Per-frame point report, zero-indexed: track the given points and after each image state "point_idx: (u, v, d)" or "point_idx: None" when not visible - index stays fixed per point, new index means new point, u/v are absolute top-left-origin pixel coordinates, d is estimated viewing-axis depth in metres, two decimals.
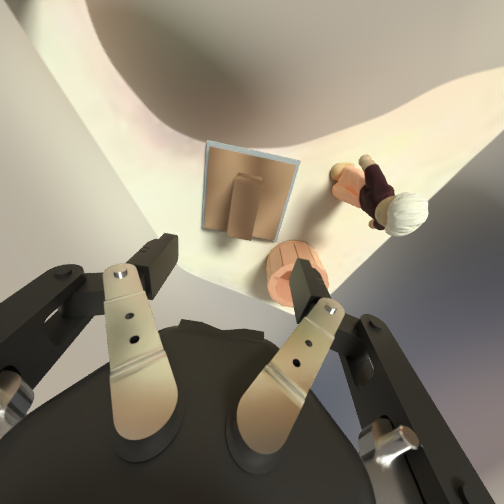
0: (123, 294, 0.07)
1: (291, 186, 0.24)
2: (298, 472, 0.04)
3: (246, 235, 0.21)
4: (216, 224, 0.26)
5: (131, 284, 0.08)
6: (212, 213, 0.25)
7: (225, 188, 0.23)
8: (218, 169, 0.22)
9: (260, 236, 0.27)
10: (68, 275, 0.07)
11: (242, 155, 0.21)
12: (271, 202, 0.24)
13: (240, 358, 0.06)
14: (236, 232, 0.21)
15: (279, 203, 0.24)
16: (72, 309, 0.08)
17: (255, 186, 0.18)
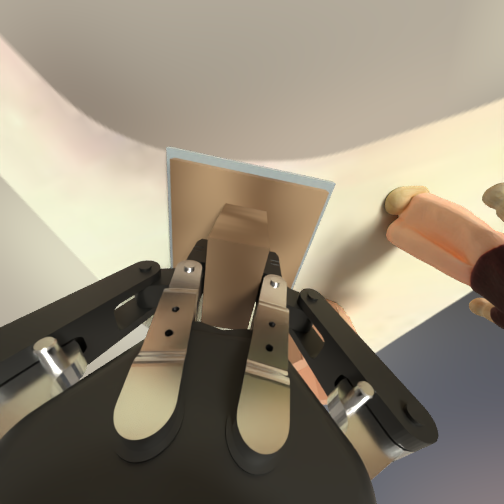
0: (182, 287, 0.08)
1: (316, 224, 0.14)
2: (298, 472, 0.04)
3: (237, 324, 0.11)
4: None
5: (192, 281, 0.08)
6: None
7: (203, 228, 0.14)
8: (189, 199, 0.13)
9: None
10: (150, 270, 0.08)
11: (231, 174, 0.12)
12: (282, 250, 0.14)
13: (240, 358, 0.06)
14: (218, 319, 0.11)
15: (295, 251, 0.14)
16: (143, 300, 0.09)
17: (254, 247, 0.09)
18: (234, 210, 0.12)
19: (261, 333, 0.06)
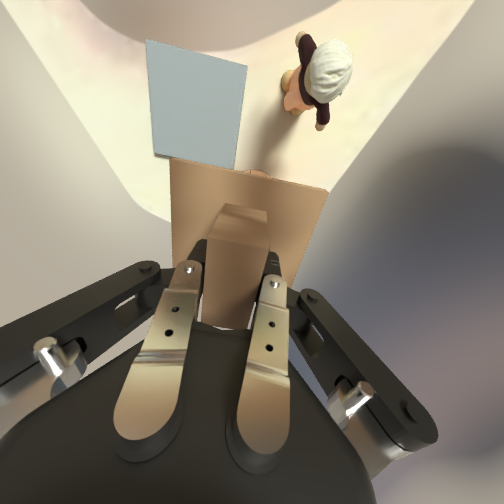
0: (182, 287, 0.08)
1: (241, 98, 0.23)
2: (298, 473, 0.04)
3: (237, 323, 0.11)
4: None
5: (192, 281, 0.08)
6: None
7: (203, 228, 0.14)
8: (189, 198, 0.13)
9: None
10: (150, 270, 0.08)
11: (231, 174, 0.12)
12: (281, 250, 0.14)
13: (240, 358, 0.06)
14: (218, 319, 0.11)
15: (295, 251, 0.14)
16: (143, 300, 0.09)
17: (253, 247, 0.09)
18: (234, 210, 0.12)
19: (261, 333, 0.06)
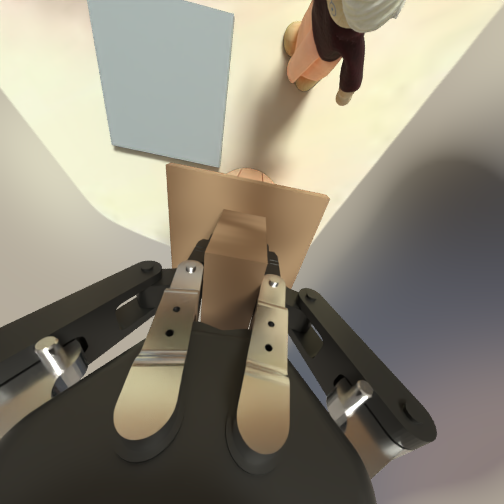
0: (184, 287, 0.08)
1: (226, 66, 0.16)
2: (298, 472, 0.04)
3: None
4: None
5: (193, 281, 0.08)
6: None
7: (202, 233, 0.14)
8: (186, 205, 0.12)
9: None
10: (151, 270, 0.08)
11: (229, 180, 0.11)
12: (281, 255, 0.14)
13: (240, 358, 0.06)
14: (217, 327, 0.11)
15: (295, 256, 0.14)
16: (144, 300, 0.09)
17: (251, 261, 0.08)
18: (232, 217, 0.12)
19: (260, 333, 0.06)
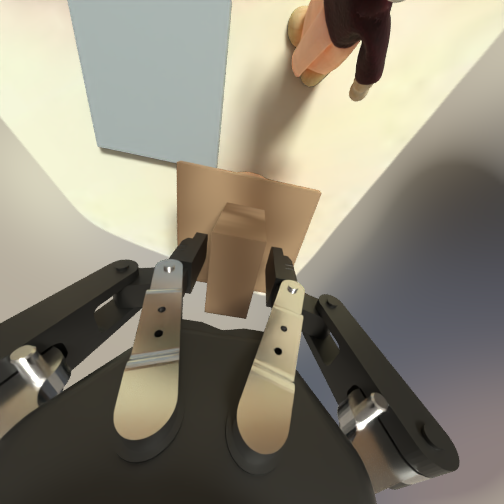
0: (165, 287, 0.08)
1: (223, 57, 0.14)
2: (298, 473, 0.04)
3: (238, 311, 0.13)
4: None
5: (174, 280, 0.08)
6: None
7: (206, 225, 0.15)
8: (193, 198, 0.14)
9: (261, 290, 0.18)
10: (127, 269, 0.08)
11: (232, 176, 0.13)
12: (278, 246, 0.16)
13: (240, 358, 0.06)
14: (220, 307, 0.12)
15: (291, 247, 0.16)
16: (122, 301, 0.09)
17: (252, 240, 0.10)
18: (235, 208, 0.13)
19: (272, 335, 0.06)
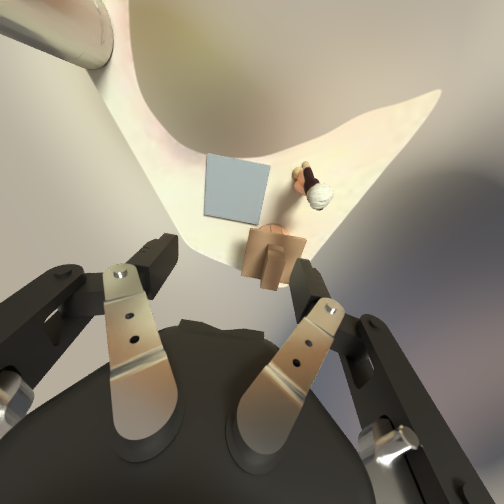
0: (123, 294, 0.07)
1: (265, 183, 0.34)
2: (298, 473, 0.04)
3: (273, 287, 0.32)
4: (249, 273, 0.37)
5: (131, 284, 0.08)
6: (247, 267, 0.36)
7: (258, 252, 0.35)
8: (254, 242, 0.34)
9: (280, 281, 0.38)
10: (68, 275, 0.07)
11: (271, 234, 0.33)
12: (289, 261, 0.35)
13: (240, 358, 0.06)
14: (267, 286, 0.32)
15: (294, 261, 0.35)
16: (72, 309, 0.08)
17: (281, 261, 0.29)
18: (271, 247, 0.33)
19: (293, 346, 0.06)
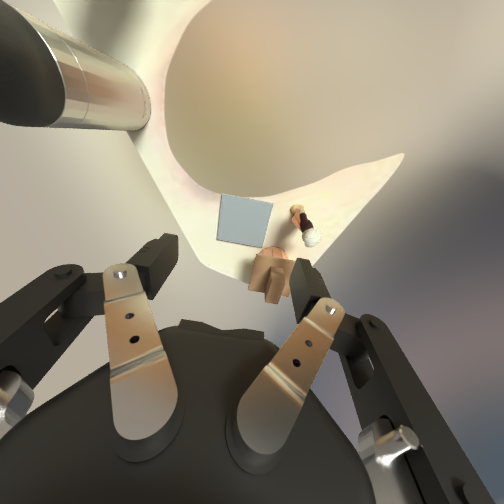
0: (123, 294, 0.07)
1: (269, 217, 0.42)
2: (298, 472, 0.04)
3: (275, 301, 0.41)
4: (255, 288, 0.45)
5: (131, 284, 0.08)
6: (253, 283, 0.45)
7: (262, 272, 0.43)
8: (259, 265, 0.42)
9: None
10: (68, 275, 0.07)
11: (273, 259, 0.41)
12: (287, 279, 0.44)
13: (240, 358, 0.06)
14: (270, 300, 0.40)
15: None
16: (72, 309, 0.08)
17: (282, 282, 0.38)
18: (274, 269, 0.41)
19: (294, 346, 0.06)
